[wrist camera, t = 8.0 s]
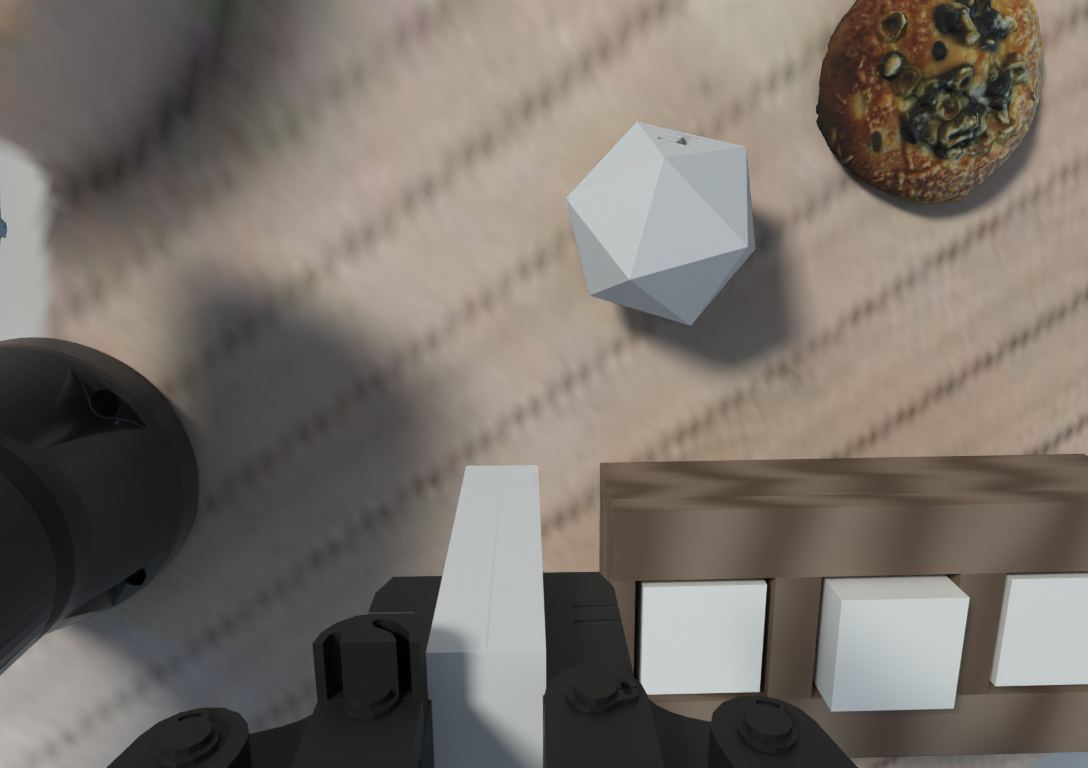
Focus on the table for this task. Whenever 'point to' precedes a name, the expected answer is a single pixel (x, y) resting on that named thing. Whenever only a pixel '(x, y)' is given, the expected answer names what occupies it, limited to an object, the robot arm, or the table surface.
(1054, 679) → the outer button
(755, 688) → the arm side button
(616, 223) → the die
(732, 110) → the table surface
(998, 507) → the button box
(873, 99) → the bread roll
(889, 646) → the middle button
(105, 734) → the table surface
